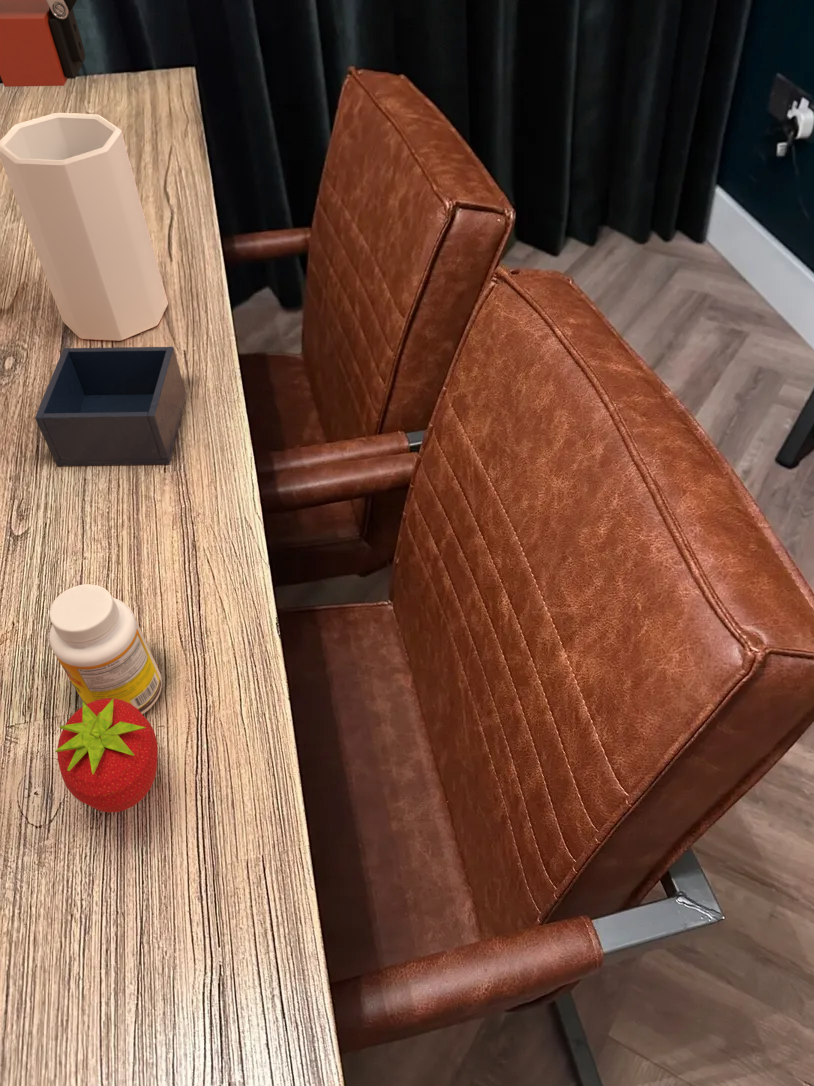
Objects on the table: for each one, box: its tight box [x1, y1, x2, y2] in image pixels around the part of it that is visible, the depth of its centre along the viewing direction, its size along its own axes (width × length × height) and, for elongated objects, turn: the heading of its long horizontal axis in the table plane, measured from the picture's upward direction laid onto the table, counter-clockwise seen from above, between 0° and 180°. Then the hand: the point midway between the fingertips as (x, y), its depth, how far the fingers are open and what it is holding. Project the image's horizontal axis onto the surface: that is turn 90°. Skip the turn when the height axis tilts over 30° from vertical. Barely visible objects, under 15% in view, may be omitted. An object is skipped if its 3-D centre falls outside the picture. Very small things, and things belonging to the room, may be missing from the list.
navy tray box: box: [34, 346, 187, 467], centre depth 80 cm, size 10×10×6 cm
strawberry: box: [54, 698, 159, 813], centre depth 55 cm, size 6×8×10 cm
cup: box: [0, 112, 169, 342], centre depth 88 cm, size 11×11×18 cm
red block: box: [0, 0, 69, 88], centre depth 66 cm, size 4×4×4 cm
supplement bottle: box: [48, 583, 163, 715], centre depth 60 cm, size 6×6×10 cm
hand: (39, 69), depth 67 cm, fingers closed on red block, 4 cm apart
